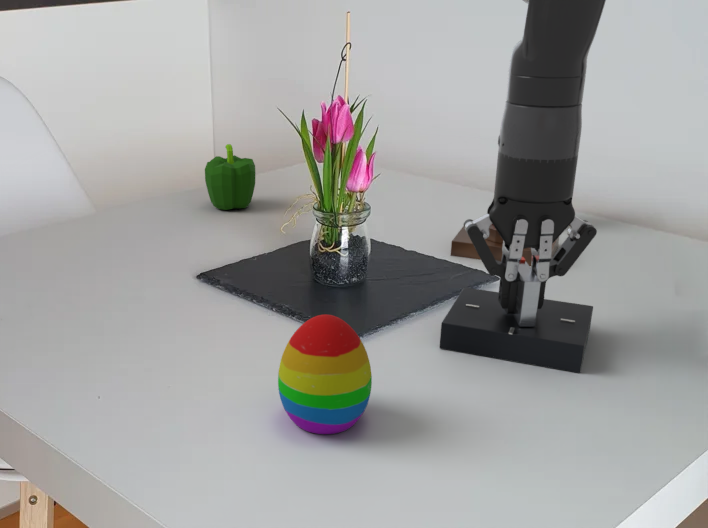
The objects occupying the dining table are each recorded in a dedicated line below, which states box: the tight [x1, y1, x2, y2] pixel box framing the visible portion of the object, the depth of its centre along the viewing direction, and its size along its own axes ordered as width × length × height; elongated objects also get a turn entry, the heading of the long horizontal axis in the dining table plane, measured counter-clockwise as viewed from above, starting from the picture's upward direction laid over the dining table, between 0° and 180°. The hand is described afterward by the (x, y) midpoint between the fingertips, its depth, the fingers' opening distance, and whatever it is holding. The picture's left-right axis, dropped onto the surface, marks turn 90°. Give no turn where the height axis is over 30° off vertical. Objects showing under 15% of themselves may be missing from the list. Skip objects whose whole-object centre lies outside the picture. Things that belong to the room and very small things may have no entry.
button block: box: [450, 224, 560, 267], centre depth 116 cm, size 13×10×4 cm
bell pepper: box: [204, 143, 256, 211], centre depth 136 cm, size 8×8×10 cm
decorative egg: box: [277, 313, 373, 435], centre depth 73 cm, size 8×8×10 cm
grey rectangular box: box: [512, 257, 541, 327], centre depth 88 cm, size 7×2×5 cm, turn 177°
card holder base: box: [439, 286, 594, 374], centre depth 89 cm, size 14×11×3 cm
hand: (519, 310), depth 89 cm, fingers closed on grey rectangular box, 2 cm apart
